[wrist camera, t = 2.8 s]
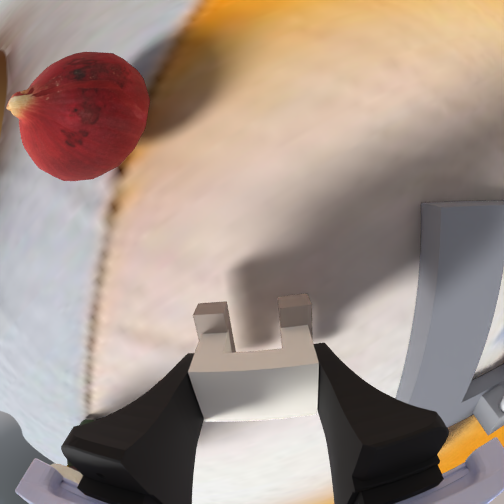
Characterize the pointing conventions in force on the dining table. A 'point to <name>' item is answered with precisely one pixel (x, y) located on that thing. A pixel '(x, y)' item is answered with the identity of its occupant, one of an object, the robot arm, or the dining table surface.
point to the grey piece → (456, 313)
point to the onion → (82, 115)
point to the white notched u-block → (255, 367)
